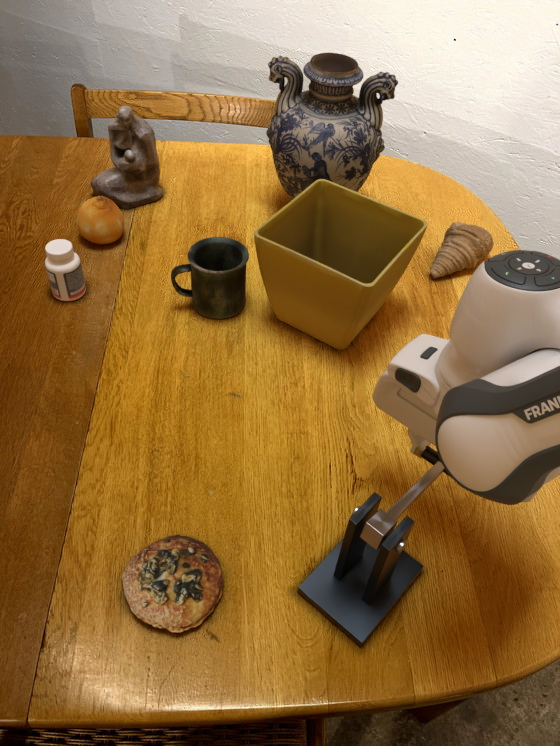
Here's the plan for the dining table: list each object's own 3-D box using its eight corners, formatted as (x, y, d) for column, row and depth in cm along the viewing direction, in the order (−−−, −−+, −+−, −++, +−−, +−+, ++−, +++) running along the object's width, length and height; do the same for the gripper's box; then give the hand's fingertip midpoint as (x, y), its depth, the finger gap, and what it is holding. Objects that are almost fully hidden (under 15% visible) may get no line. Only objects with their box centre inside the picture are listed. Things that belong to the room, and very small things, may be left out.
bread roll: (219, 533, 77) (217, 517, 73) (228, 631, 71) (227, 619, 67) (124, 545, 76) (117, 530, 72) (125, 645, 70) (117, 635, 66)
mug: (252, 318, 103) (255, 269, 96) (177, 327, 101) (173, 278, 93) (241, 282, 109) (242, 233, 102) (169, 290, 106) (165, 241, 99)
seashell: (432, 295, 117) (470, 298, 111) (413, 263, 112) (453, 264, 106) (467, 241, 121) (506, 241, 115) (450, 208, 116) (490, 206, 110)
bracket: (360, 523, 80) (380, 458, 70) (421, 570, 76) (452, 509, 66) (296, 591, 73) (308, 531, 63) (360, 647, 70) (383, 592, 59)
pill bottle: (89, 281, 107) (80, 237, 100) (82, 303, 103) (73, 258, 97) (56, 280, 106) (45, 235, 100) (48, 301, 103) (36, 256, 96)
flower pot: (407, 306, 108) (431, 220, 95) (351, 374, 96) (370, 287, 84) (309, 262, 114) (320, 176, 102) (247, 321, 103) (250, 233, 90)
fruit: (140, 230, 113) (118, 186, 110) (102, 252, 109) (78, 208, 106) (120, 231, 119) (98, 190, 116) (83, 252, 116) (60, 211, 112)
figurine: (89, 208, 121) (72, 114, 107) (98, 174, 128) (83, 83, 115) (161, 210, 122) (153, 118, 108) (165, 177, 129) (158, 86, 116)
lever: (424, 455, 78) (431, 441, 76) (461, 480, 76) (468, 466, 74) (348, 528, 67) (354, 513, 65) (388, 559, 65) (395, 545, 63)
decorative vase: (373, 193, 130) (401, 47, 110) (368, 247, 118) (399, 95, 97) (268, 178, 132) (276, 32, 111) (252, 231, 119) (258, 77, 98)
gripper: (584, 429, 63) (534, 504, 73) (409, 325, 71) (386, 405, 82) (556, 469, 60) (507, 541, 70) (375, 355, 68) (356, 434, 78)
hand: (441, 467), depth 76 cm, fingers closed on lever, 5 cm apart
